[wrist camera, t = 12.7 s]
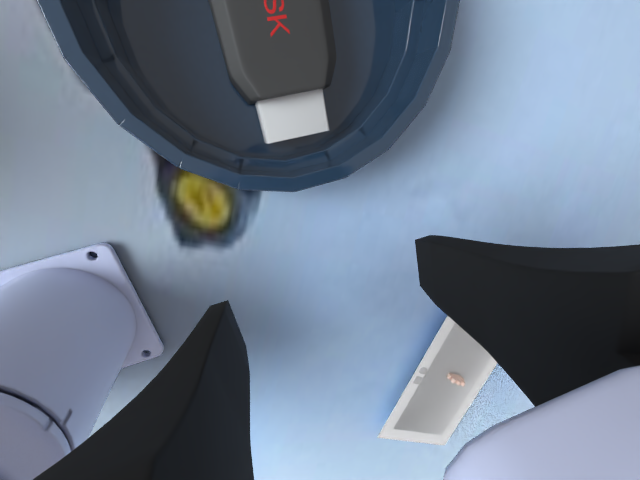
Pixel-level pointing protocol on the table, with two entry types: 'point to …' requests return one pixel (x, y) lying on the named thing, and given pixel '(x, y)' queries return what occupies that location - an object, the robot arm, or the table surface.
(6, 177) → the table surface
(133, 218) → the table surface
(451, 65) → the table surface
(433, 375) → the touchpad
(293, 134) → the usb drive
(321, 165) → the bowl
